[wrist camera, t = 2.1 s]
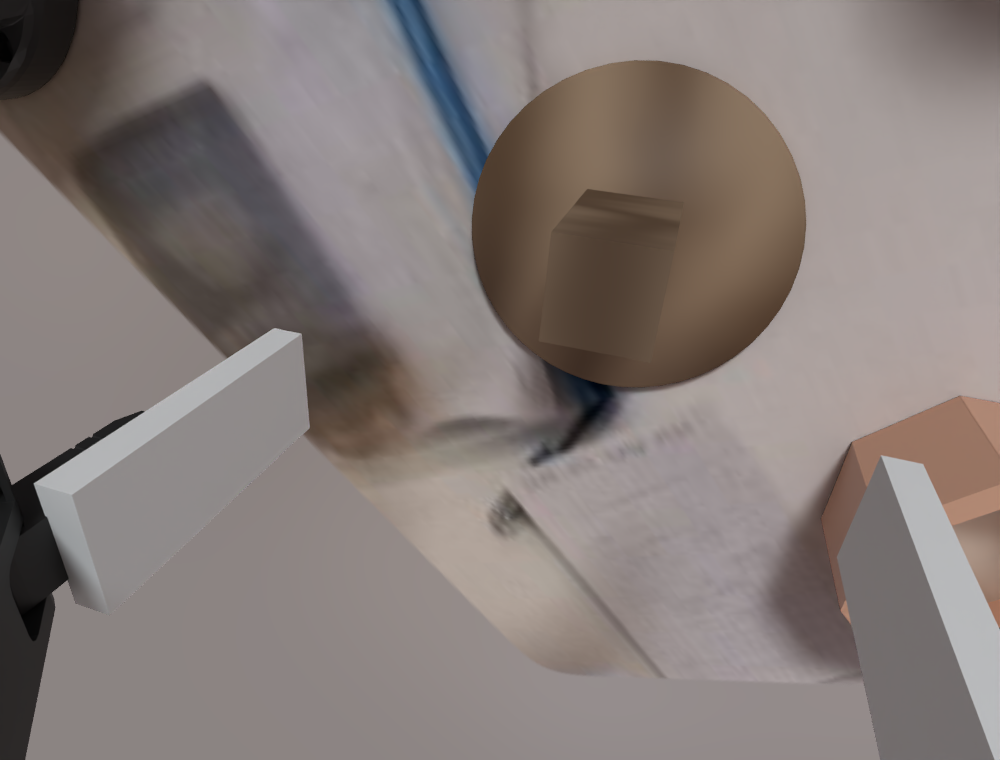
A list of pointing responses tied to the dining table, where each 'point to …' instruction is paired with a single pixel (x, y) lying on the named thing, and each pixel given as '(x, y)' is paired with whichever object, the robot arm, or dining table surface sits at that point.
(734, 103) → the lid
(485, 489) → the dining table surface
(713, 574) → the dining table surface
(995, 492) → the bowl
